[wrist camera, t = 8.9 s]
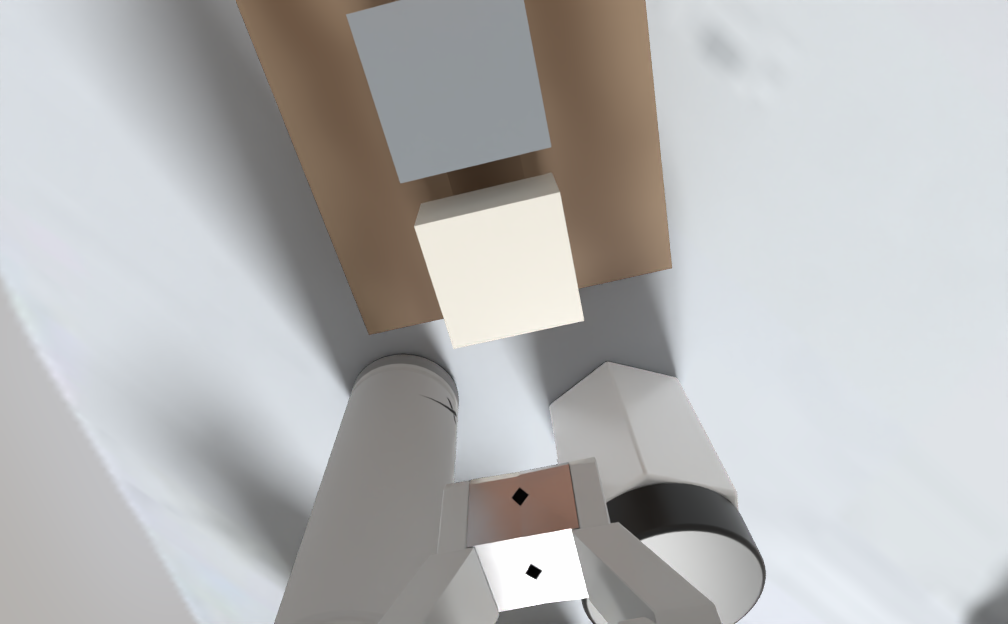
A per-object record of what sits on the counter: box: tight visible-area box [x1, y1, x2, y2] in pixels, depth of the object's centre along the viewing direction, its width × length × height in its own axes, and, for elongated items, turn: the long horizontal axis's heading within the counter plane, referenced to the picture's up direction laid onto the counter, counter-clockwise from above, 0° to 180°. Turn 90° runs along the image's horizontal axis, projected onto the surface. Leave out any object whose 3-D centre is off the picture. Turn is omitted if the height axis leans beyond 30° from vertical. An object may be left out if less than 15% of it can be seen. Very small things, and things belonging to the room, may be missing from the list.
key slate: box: [346, 0, 551, 183], centre depth 21 cm, size 5×5×8 cm
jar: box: [549, 362, 766, 624], centre depth 30 cm, size 9×8×12 cm
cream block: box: [414, 173, 584, 349], centre depth 24 cm, size 5×5×8 cm
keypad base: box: [236, 0, 672, 335], centre depth 24 cm, size 14×20×5 cm
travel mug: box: [274, 354, 459, 624], centre depth 26 cm, size 6×7×20 cm
